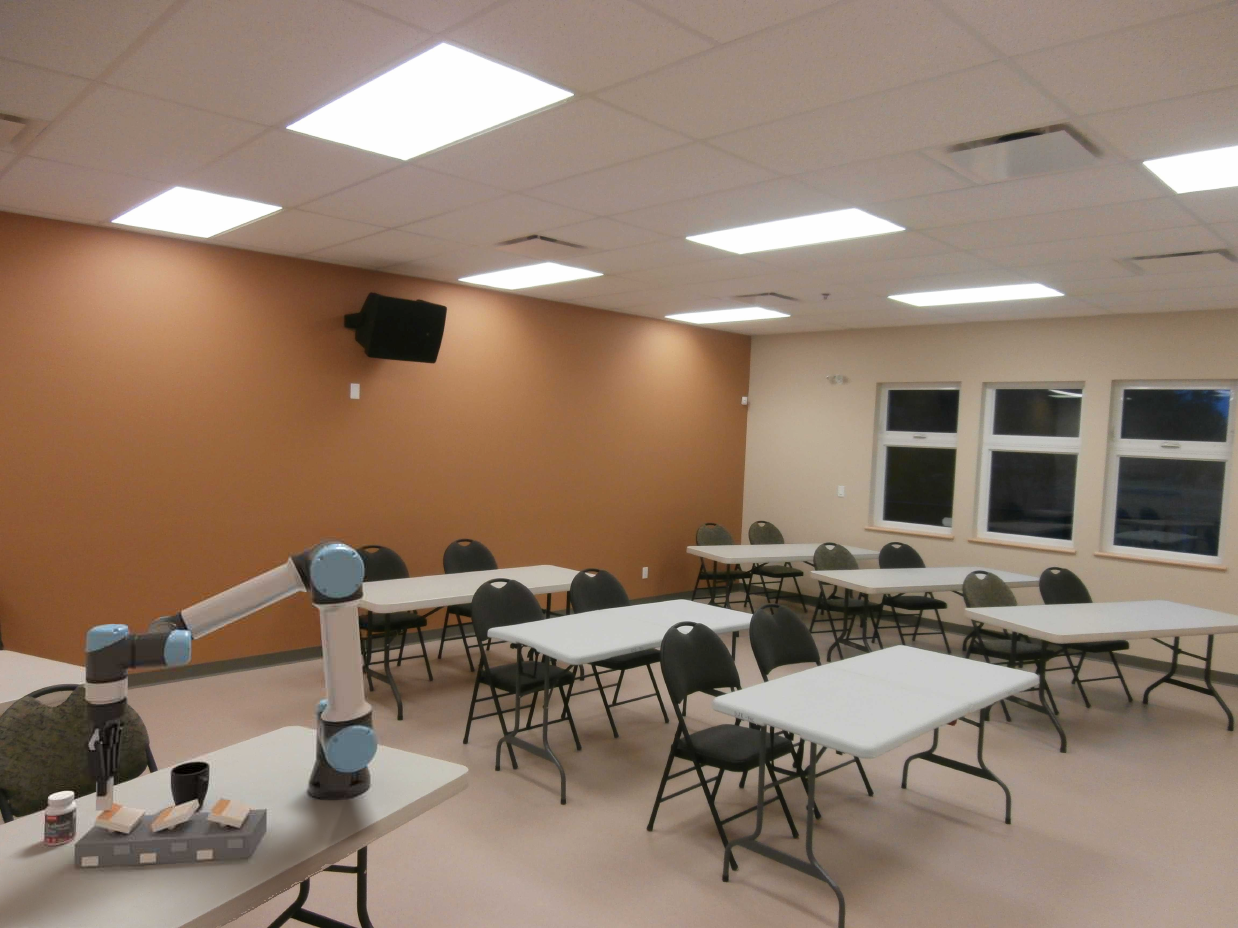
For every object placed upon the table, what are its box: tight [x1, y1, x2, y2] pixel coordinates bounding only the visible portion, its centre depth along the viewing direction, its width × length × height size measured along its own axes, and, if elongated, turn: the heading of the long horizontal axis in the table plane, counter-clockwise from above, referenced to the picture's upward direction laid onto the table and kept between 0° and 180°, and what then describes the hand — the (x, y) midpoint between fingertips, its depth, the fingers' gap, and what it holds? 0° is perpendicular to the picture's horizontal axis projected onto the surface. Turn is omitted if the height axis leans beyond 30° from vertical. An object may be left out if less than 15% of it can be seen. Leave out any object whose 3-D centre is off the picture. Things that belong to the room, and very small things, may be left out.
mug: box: [170, 761, 210, 811], centre depth 188 cm, size 8×12×10 cm
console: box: [73, 808, 268, 870], centre depth 169 cm, size 34×12×6 cm, turn 99°
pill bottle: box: [43, 790, 77, 847], centre depth 172 cm, size 6×6×10 cm
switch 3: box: [207, 797, 253, 828], centre depth 171 cm, size 7×7×2 cm
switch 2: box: [151, 799, 199, 832], centre depth 169 cm, size 7×7×2 cm
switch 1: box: [93, 802, 146, 834], centre depth 167 cm, size 7×7×2 cm
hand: (104, 808), depth 167 cm, fingers closed
